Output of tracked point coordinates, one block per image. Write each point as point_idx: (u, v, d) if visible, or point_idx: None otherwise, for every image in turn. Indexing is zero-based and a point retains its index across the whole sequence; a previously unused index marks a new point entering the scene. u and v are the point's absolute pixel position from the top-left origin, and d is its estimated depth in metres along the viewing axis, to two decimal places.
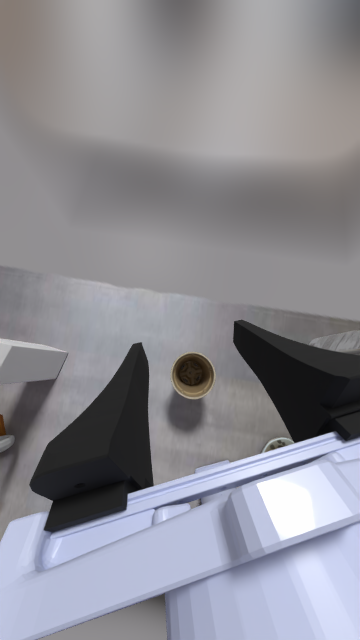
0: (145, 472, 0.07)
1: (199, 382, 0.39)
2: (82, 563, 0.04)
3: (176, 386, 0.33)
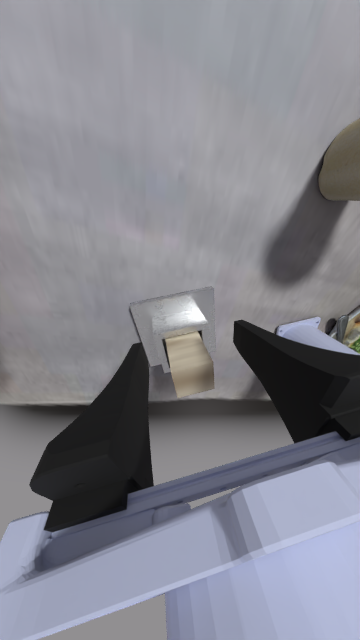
0: (145, 472, 0.07)
1: None
2: (82, 563, 0.04)
3: None
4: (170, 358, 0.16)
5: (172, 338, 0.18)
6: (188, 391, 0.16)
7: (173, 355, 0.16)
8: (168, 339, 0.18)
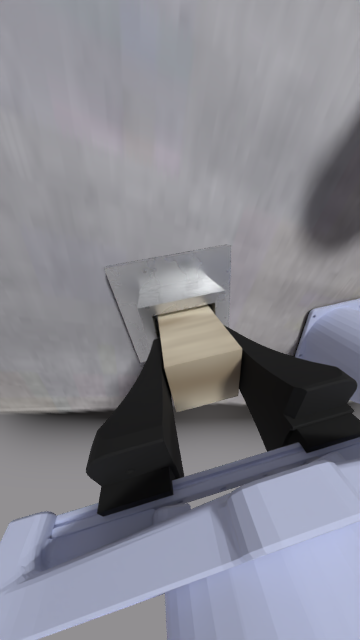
0: (179, 462, 0.07)
1: None
2: (82, 563, 0.04)
3: None
4: (164, 343, 0.09)
5: (169, 315, 0.12)
6: (194, 401, 0.09)
7: (170, 339, 0.09)
8: (162, 317, 0.12)
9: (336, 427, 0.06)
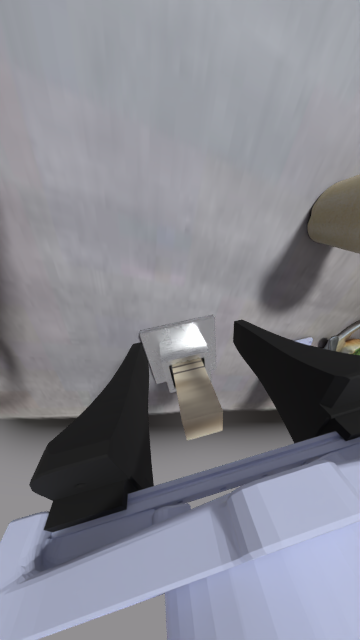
0: (145, 472, 0.07)
1: None
2: (82, 563, 0.04)
3: None
4: (180, 403, 0.16)
5: (181, 377, 0.19)
6: (197, 434, 0.17)
7: (183, 399, 0.17)
8: (177, 378, 0.19)
9: None
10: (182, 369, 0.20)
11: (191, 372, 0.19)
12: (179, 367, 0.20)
